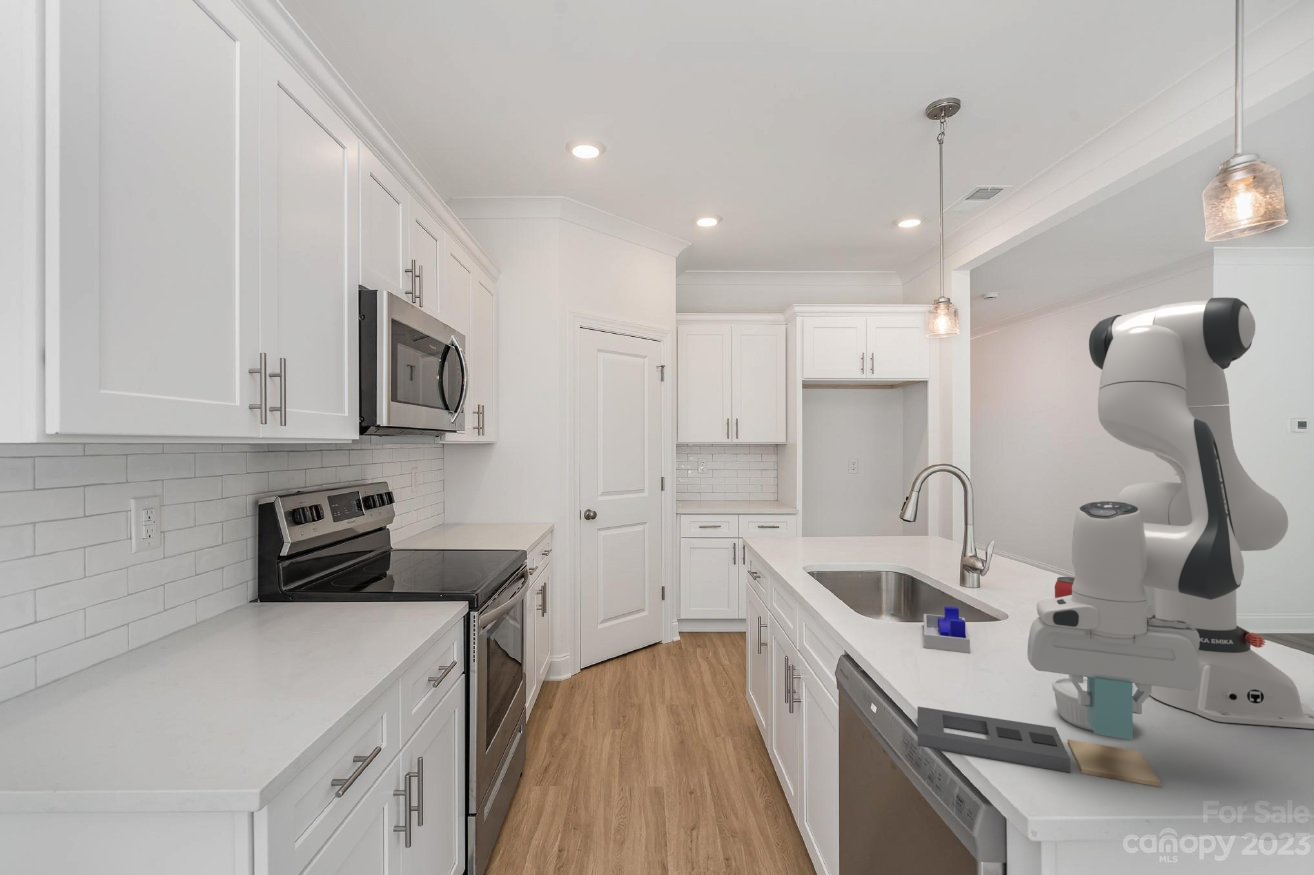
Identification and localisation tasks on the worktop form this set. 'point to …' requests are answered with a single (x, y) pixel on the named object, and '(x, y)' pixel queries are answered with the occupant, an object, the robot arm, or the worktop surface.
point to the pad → (1112, 763)
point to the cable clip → (951, 623)
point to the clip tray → (944, 637)
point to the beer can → (1063, 586)
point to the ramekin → (1070, 702)
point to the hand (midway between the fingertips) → (1108, 708)
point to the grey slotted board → (993, 739)
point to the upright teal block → (1110, 707)
